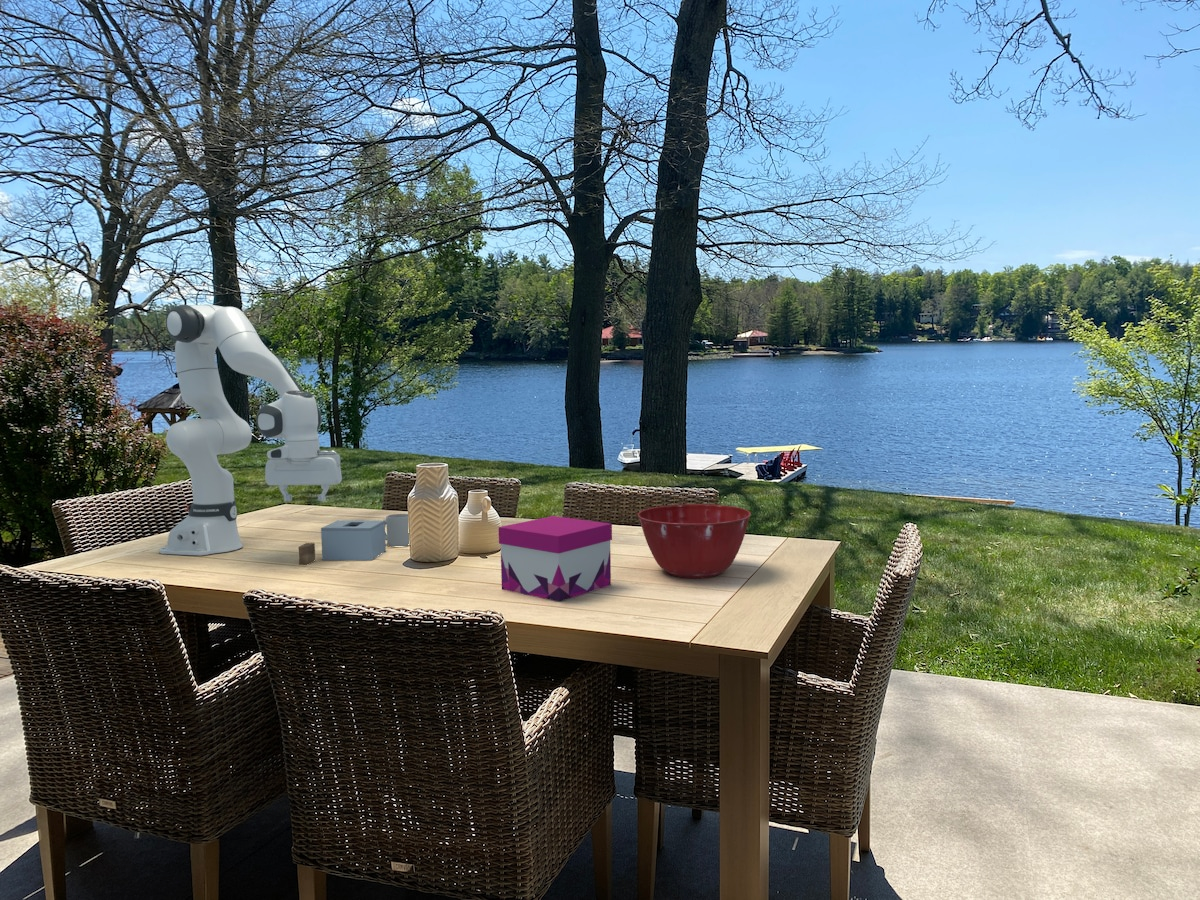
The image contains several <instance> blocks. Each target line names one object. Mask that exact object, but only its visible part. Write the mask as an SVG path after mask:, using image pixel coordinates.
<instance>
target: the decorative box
mask: <svg viewBox="0 0 1200 900" xmlns="http://www.w3.org/2000/svg"><path fill="white" fill-rule="evenodd" d="M612 540H613V523H608V522H603V521H602V522H601V521H593V520H589V519H588V520H586V519H580V518H579V519H578V518H570V517H565V516H557V515H556V516H555V515H552V516H547V517H541V518H537V519H532V520H528V521H522V522H517V523H512V524H507V525H502V526H498V544H500V564H501V565H500V567H501V568H500V569H501V570H500V573H501V575H500V577H501V590H504V591H507V592H508V591H509V592H512V593H518V594H523V595H526V596H530V597H536V598H540V599H545V600H549V601H554V602H558V603H560V602H562V601H563V602H564V601H566V600H570V599H573V598H575V597H579V596H582V595H585V594H587V593H591V592H593V591H598V590H600V589H603V588H606V587H609V586H611V585H612V579H611V578H612V576H611V575H612V571H611V570H612V569H611V558H612V557H611V541H612Z"/></svg>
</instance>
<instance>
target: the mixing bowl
mask: <svg viewBox="0 0 1200 900" xmlns="http://www.w3.org/2000/svg"><path fill="white" fill-rule="evenodd" d="M751 514H752V513H751V512H750V511H749V510H748V509H745V508H741V507H738V506H731V505H725V504H704V503H702V504H701V503H700V504H698V503H696V504H695V503H694V504H688V503H687V504H675V505H674V504H672V505H662V506H656V507H650V508H646V509H644V510H643V509H642V510H641V511H639V512H638V513H637V517H638V518H639V521H640V526H641V528H642V533H643V535H644V539H645V542H646V544H647V546H648V548H649V550H650V552H651V554H652V556H653V559H654V560H655V563H656V564H657V565H658V566H659V567H660V568H661V569H662V570H664V571H665V572H667V573H668V574H669V575H671V576H674V577H678V578H683V579H706V578H713V577H716V576H719V575H721V574H722V573H723V572H724V571H726V570H728V568H729V567H731V565H732V564H733V562H734V561H735V559H736V558H737V555H738V553H739V550H740V549H741V546H742V544H743V541H744V538H745V536H746V531H747V527H748V524H749V519H750V518H751V516H752V515H751Z"/></svg>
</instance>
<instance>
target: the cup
mask: <svg viewBox="0 0 1200 900" xmlns="http://www.w3.org/2000/svg"><path fill="white" fill-rule="evenodd" d="M408 514H409V513H394V514H388V515H386V518H384V519H382V521H385V526H386V531H385V541H386V542H387V543H386V544H387V546H388V545H389V546H406V547H409V546H408V544H409V533H408ZM389 546H388V547H389Z"/></svg>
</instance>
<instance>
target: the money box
mask: <svg viewBox="0 0 1200 900" xmlns="http://www.w3.org/2000/svg"><path fill="white" fill-rule="evenodd" d="M385 532H386V525H385V521H383V520H336V521H334V522H331V523H329V524H327V525H325V526H323V527H321V528H320V536H321V537H320V538H321V557H322V558H321V559H322V561H373V560H375V559H376V558H378V557H379V556H381V555H382V554H384V553H385V552H386V551H387V550H386V549H387V548H386V547H387V546H386V544H387V543H386V542H387V541H386V540H385ZM384 551H385V552H384ZM383 552H384V553H383ZM381 553H382V554H381ZM380 554H381V555H380ZM378 555H379V556H378ZM377 556H378V557H377ZM375 557H376V558H375ZM374 558H375V559H374Z"/></svg>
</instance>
